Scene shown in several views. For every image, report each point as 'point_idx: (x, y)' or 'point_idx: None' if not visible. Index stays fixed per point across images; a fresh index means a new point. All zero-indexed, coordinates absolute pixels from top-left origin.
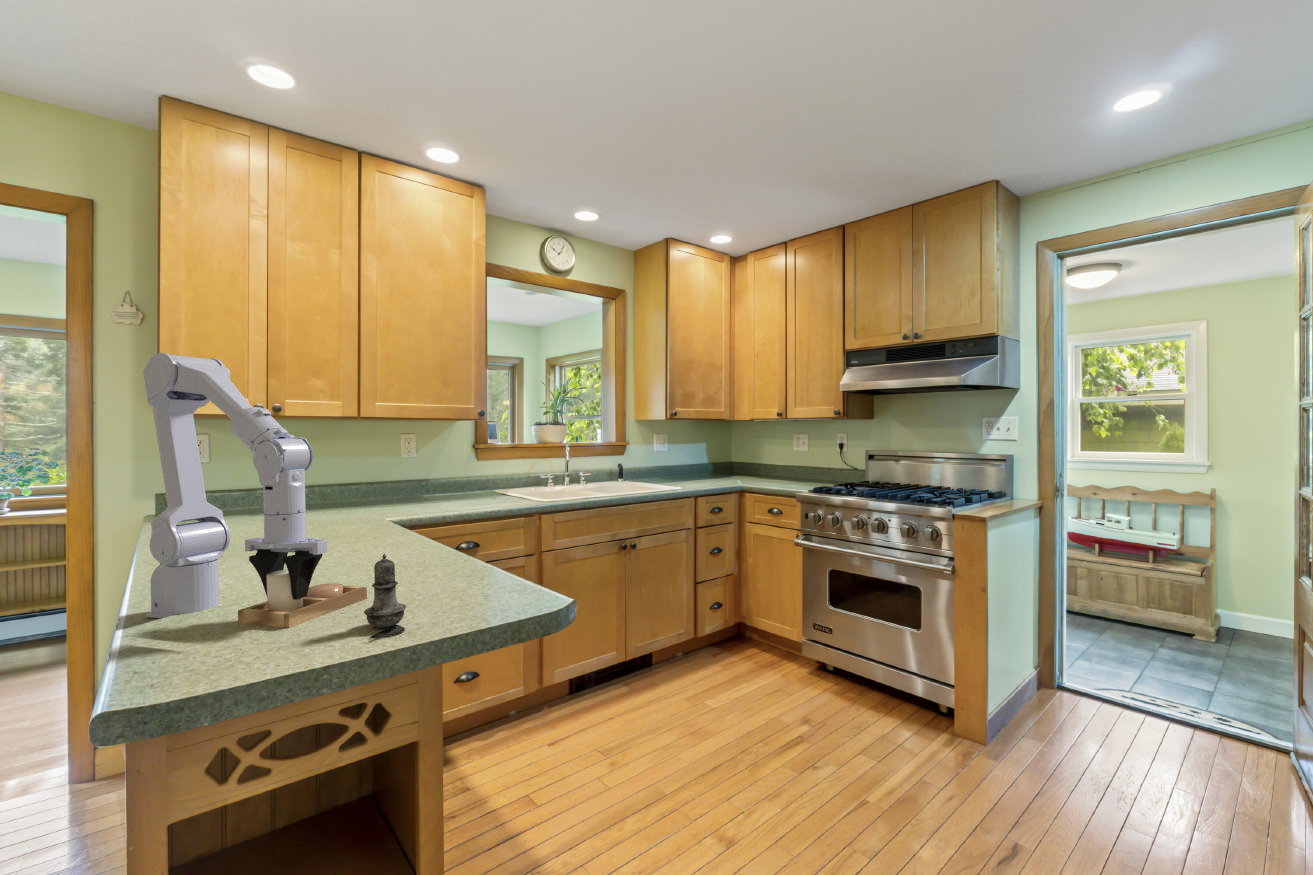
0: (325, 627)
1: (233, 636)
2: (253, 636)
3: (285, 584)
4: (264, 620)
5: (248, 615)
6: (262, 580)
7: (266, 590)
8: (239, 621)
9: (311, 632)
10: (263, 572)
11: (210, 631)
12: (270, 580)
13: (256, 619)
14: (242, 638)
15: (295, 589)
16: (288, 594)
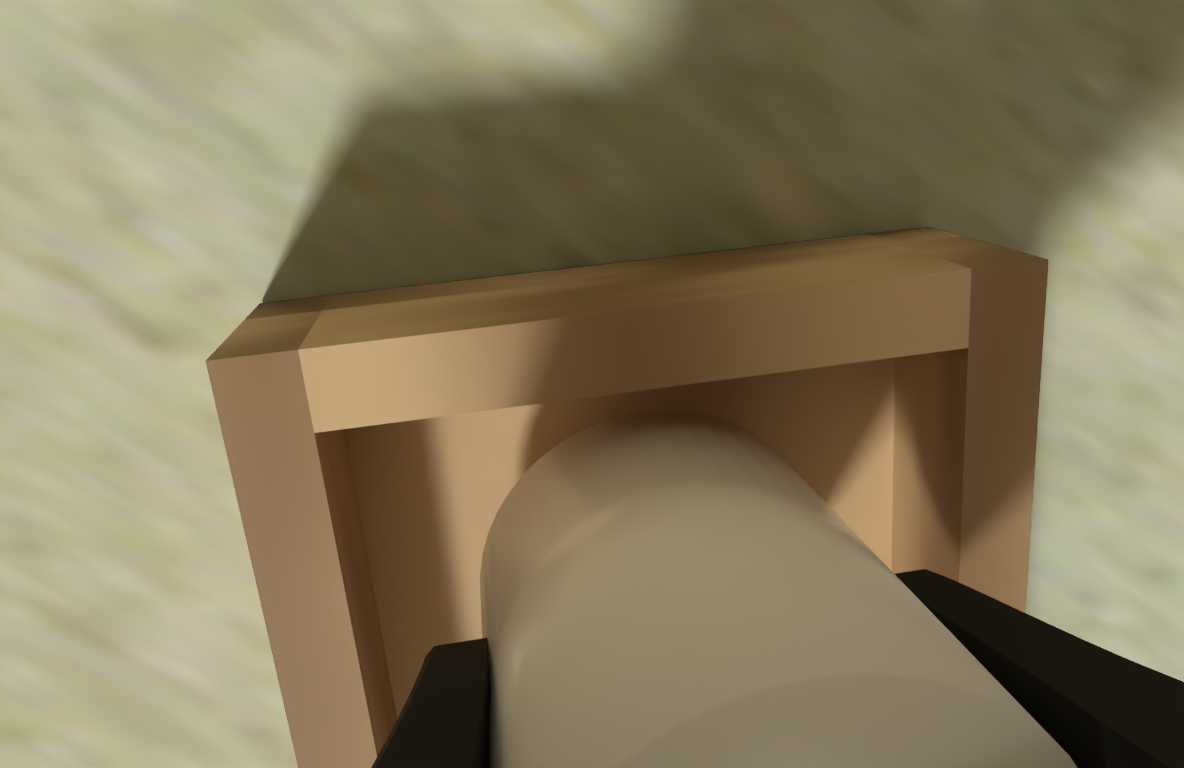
0: (114, 571)
1: (779, 56)
2: (571, 126)
3: (543, 708)
4: (613, 289)
5: (861, 269)
6: (1112, 667)
7: (959, 601)
8: (954, 241)
9: (92, 421)
10: (1176, 761)
11: (1148, 91)
12: (794, 626)
13: (731, 275)
14: (624, 41)
15: (398, 724)
16: (505, 632)
